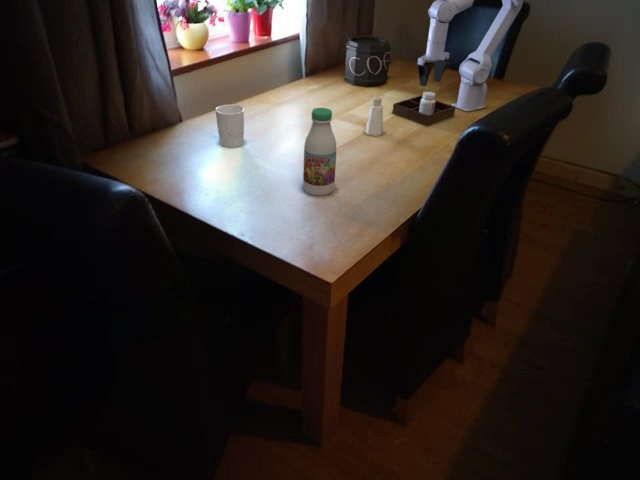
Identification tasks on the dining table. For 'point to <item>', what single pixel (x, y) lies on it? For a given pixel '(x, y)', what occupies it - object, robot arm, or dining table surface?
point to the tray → (411, 112)
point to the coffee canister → (367, 61)
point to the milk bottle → (320, 154)
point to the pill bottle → (427, 103)
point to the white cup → (230, 125)
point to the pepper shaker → (375, 118)
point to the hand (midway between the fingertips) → (429, 83)
